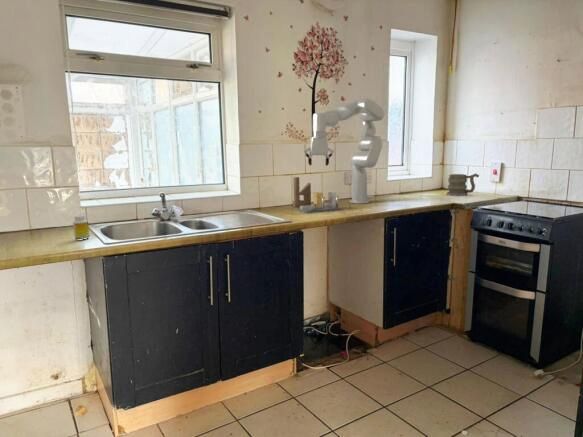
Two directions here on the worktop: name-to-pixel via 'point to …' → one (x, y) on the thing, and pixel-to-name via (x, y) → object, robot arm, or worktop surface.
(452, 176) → the tankard
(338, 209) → the bolt plate
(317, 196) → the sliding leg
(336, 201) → the trammel beam
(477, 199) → the worktop surface
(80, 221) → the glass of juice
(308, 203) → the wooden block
